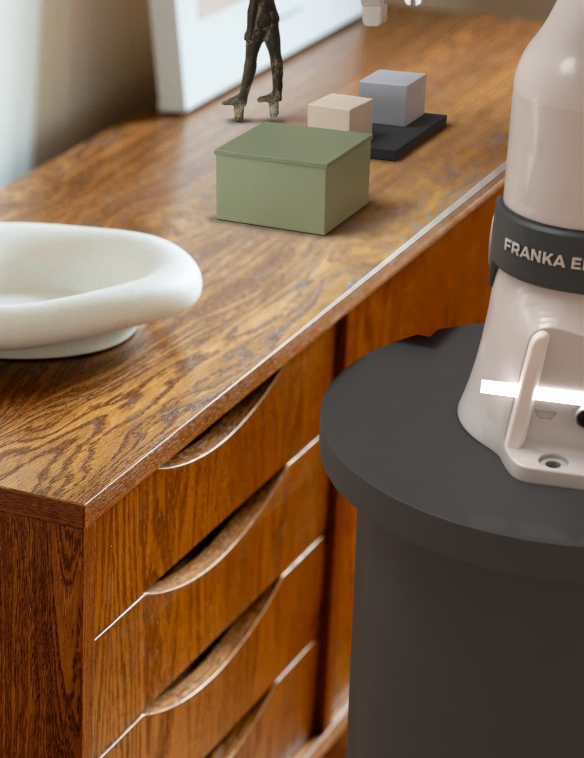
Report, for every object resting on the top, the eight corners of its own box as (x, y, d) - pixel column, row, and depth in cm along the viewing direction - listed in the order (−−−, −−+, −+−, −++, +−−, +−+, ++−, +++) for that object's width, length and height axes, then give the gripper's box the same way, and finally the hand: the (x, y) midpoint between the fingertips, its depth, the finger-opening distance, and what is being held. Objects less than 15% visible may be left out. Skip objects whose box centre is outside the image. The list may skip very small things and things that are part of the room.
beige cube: (372, 135, 143) (373, 98, 141) (348, 147, 140) (350, 109, 138) (330, 128, 145) (331, 92, 143) (306, 140, 142) (307, 103, 140)
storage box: (370, 202, 129) (373, 133, 126) (325, 236, 122) (327, 164, 119) (263, 188, 134) (264, 121, 131) (214, 219, 127) (213, 149, 124)
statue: (231, 111, 156) (231, -92, 146) (290, 115, 154) (293, -92, 144) (216, 124, 152) (215, -85, 142) (276, 128, 150) (278, -84, 140)
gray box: (424, 114, 148) (426, 73, 146) (405, 127, 144) (407, 85, 142) (377, 109, 150) (378, 68, 148) (356, 121, 147) (358, 80, 145)
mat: (446, 124, 148) (447, 114, 147) (395, 161, 138) (396, 150, 138) (343, 113, 153) (343, 103, 153) (287, 147, 144) (287, 137, 143)
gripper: (386, -133, 122) (381, 40, 129) (477, -162, 137) (468, -5, 143) (316, -134, 125) (314, 35, 132) (412, -161, 140) (406, -8, 147)
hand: (395, 14), depth 138 cm, fingers open, 8 cm apart
